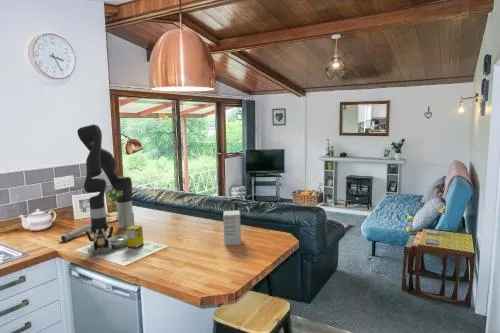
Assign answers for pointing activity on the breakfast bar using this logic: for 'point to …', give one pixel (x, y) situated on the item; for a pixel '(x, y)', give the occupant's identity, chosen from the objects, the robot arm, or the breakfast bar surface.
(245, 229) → the breakfast bar surface
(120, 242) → the grey slotted holder
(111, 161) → the robot arm
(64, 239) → the grey long rod
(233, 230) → the supplement box
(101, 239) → the tan grey cylinder
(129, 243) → the supplement box
